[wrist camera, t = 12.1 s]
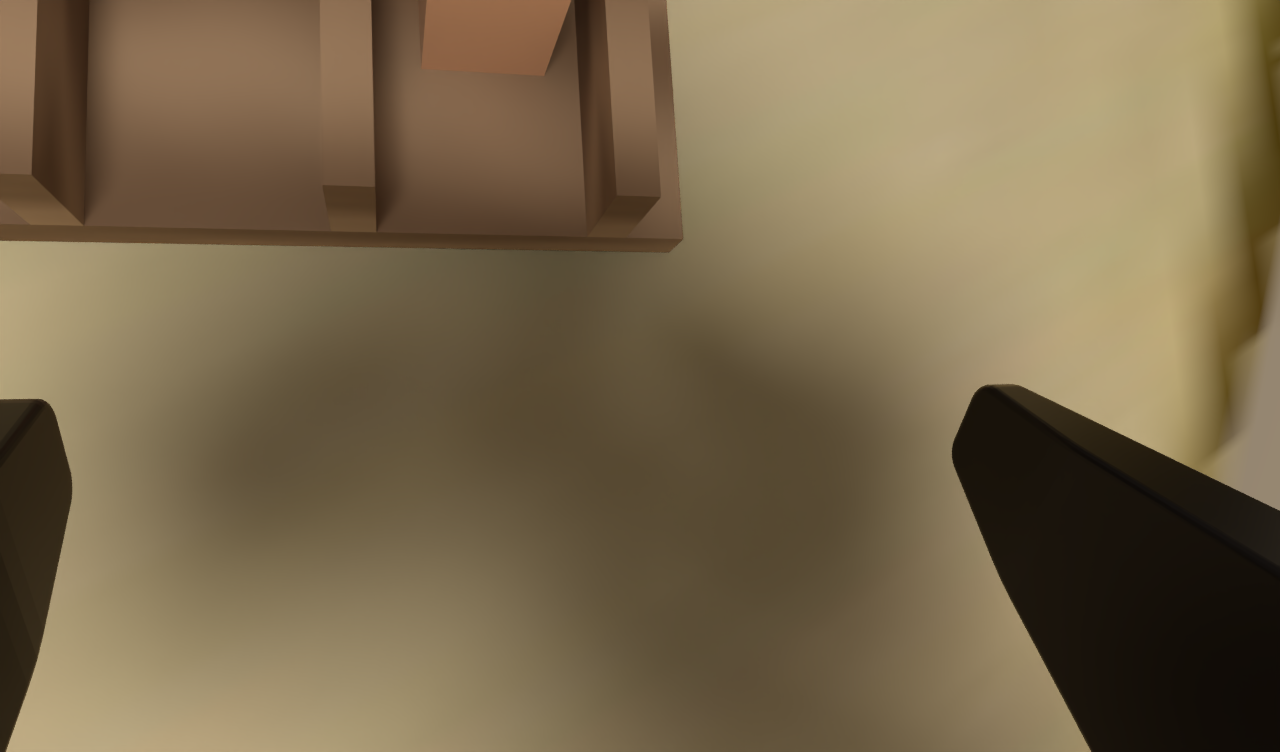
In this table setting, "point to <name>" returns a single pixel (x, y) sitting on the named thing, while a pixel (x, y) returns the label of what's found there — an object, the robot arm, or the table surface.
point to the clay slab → (490, 35)
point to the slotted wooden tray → (330, 129)
